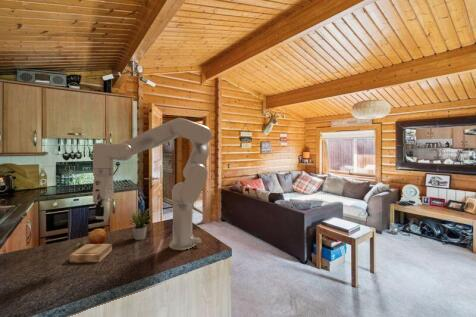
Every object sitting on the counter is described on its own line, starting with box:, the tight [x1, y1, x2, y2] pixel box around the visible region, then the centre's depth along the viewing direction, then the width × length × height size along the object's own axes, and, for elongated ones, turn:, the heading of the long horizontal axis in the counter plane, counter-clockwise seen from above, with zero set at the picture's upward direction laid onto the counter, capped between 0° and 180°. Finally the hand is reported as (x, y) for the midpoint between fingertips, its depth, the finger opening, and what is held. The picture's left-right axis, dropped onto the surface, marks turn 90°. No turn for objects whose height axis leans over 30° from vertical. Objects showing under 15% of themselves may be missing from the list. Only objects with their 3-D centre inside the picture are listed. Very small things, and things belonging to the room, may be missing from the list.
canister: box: [95, 198, 111, 220], centre depth 106 cm, size 6×6×8 cm
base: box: [69, 243, 113, 263], centre depth 110 cm, size 12×12×3 cm
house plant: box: [128, 208, 155, 241], centre depth 132 cm, size 14×14×16 cm
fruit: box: [87, 228, 107, 244], centre depth 125 cm, size 8×8×8 cm
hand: (102, 213), depth 106 cm, fingers closed on canister, 5 cm apart
